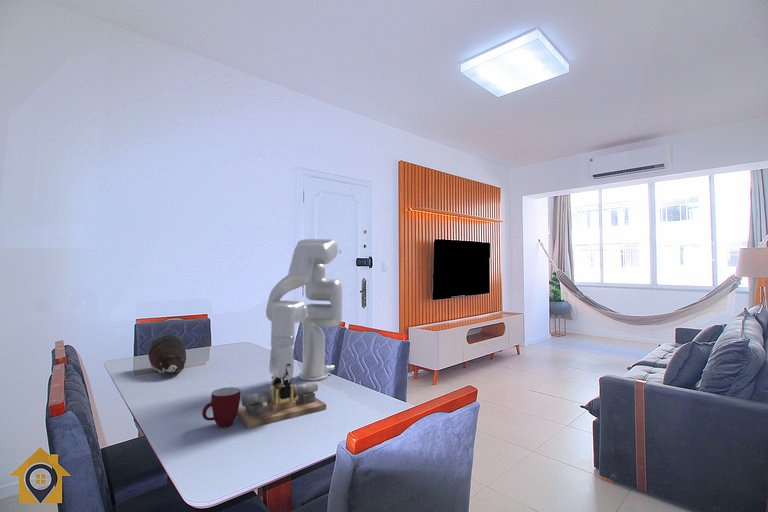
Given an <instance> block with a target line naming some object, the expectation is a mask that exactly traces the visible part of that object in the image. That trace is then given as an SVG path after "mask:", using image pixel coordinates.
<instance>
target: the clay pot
mask: <svg viewBox="0 0 768 512" xmlns="http://www.w3.org/2000/svg"><path fill="white" fill-rule="evenodd" d="M186 354H187V353H186V348H185V344H184V341H183V338H181V337H179V336H178V335H173V334H163V335H161V336H159V337H157V338H156V339H155V340H153V341H152V342H151V344H150V346H149V347H148V360H149V363H150V367H151V368H152V369H153V371H156V372H158V373H159V375H161V374H165V373H167V374H175V375H176V376H177V375H180V374H181V372H182V371H183V370H184V369H185V364H186V361H187V355H186Z"/></svg>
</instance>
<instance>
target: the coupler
mask: <svg viewBox="0 0 768 512" xmlns="http://www.w3.org/2000/svg"><path fill="white" fill-rule="evenodd" d="M269 386H270V388H269V389H270V390H271V392H272V403H274V404H275V405H279V404H283V403H287V402H292V401H293V390H294V386H293V385H292V384H291V397H290V398H286V399H281V387H282V383H281V384H275V385H272V384H271V385H269Z"/></svg>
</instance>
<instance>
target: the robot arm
mask: <svg viewBox="0 0 768 512" xmlns="http://www.w3.org/2000/svg"><path fill="white" fill-rule="evenodd" d="M338 251H339V247H338V243H337V242H336V241H335V240H334V239H331V238H330V239H329V238H328V239H327V238H324V239H323V238H321V239H320V238H306V239H301V240H298V241H297V244H296V246H295V247H294V250H293V254H292V257H291V262H290V265H289V268H288V269H289V270H288V273H287V275H286V276H284V277H283V278H282V279H280V280H279V281H278V282H277V284H275V285H274V287H273V288H271V291H270V293H269V297H268V300H267V305H266V309H265V315H266V318H267V319H268V321H270V322H271V323H270V324H271V325H270V326H271V328H270V330H271V331H270V346H271V347H270V357H269V368H268V369H269V373H270V374H271V375H272V376H273V375H274V376H273V379H272V380H273V385H275V384H281V383H282V387H281V399H286V398H290V397H291V385H292V382H293V379H294V377H293V375H294V369H295V368H294V367H295V365H294V363H295V361H294V346H295V328H296V326H295V325H296V323H302V364H301V365H302V368H301V369H302V371H301V372H299V373H298V378H299V379H300V380H303V381H309V382H310V381H311V382H312V381H313V382H316V381H320V380H324V379H327V378H328V377H329V373H328V372H329V371H334V370H335V365H333V364H332V365H329V364H327V365H326V364H325V362H326V359H325V358H326V335H325V333H324V331H323V329H322V328H321V327H336V326H337V327H338V326H339V325H340V324H341V322H342V318H343V317H342V316H343V287H342V283H341V282H340V280H338V279H333V278H326V267H325V265H328V264H330V263H331V262H332V261H333V260H335V258H336V257H337V255H338ZM303 286H305V288H304V290H305V291H304V292H305V297H306V299H307V300H309V301H315V302H316V301H317V302H319V301H320V302H329V303H308V304H306V303H305V302H303V301H298V300H281V299H282V298H283V297H284V295H286V294H287V293H289V292H291V291H293V290H296V289H299V288H301V287H303ZM286 374H287V376H285V377H284V375H286ZM285 378H287V380H285V382H284V379H285Z"/></svg>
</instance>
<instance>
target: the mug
mask: <svg viewBox="0 0 768 512" xmlns="http://www.w3.org/2000/svg"><path fill="white" fill-rule="evenodd" d="M210 397H211V399H210V402H209V403H207V404H205V405H204V406H203V408H202V412H201V415H202V417H203V419H204V420H206V421H214V422H215V424H216V425H217V426H218V427H219V428H221V429H224V428H229V427H231V426H232V425H234V422H235V420H236V419H237V417H238V416H237V413H238V408H239V407H240V402H241V389H240V388H239V387H232V386H231V387H228V386H227V387H221V388H217V389H215V390H213V391H212V392H211V396H210ZM209 408H211V409H212V417H209V416H207V410H208V409H209Z"/></svg>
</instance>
